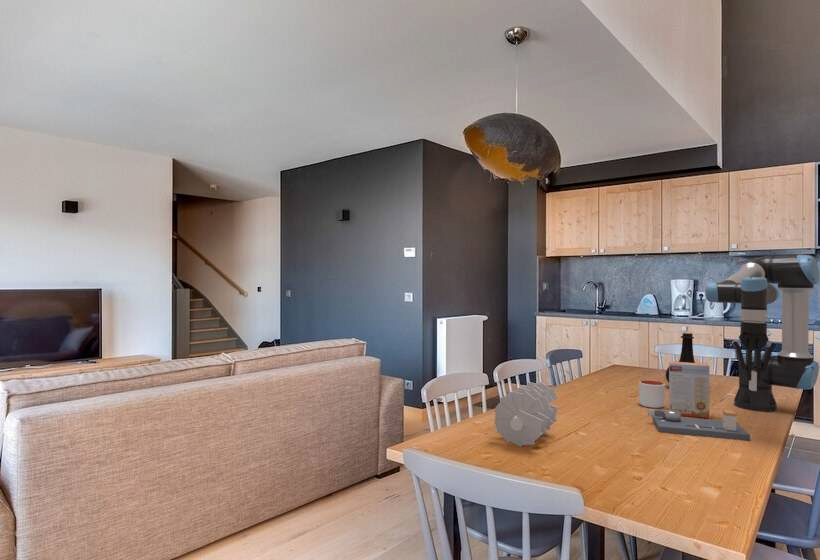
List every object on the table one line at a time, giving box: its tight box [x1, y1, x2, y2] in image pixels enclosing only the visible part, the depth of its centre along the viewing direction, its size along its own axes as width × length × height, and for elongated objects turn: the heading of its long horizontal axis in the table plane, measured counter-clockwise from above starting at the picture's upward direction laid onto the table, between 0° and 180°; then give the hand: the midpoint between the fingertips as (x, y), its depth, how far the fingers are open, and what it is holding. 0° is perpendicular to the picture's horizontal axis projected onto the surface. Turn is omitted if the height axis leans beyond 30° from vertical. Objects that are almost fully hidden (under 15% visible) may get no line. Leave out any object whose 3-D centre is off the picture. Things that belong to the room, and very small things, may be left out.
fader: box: [722, 409, 738, 431], centre depth 175 cm, size 3×4×6 cm
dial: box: [647, 408, 682, 422], centre depth 187 cm, size 11×6×3 cm, turn 72°
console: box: [651, 416, 751, 441], centre depth 181 cm, size 28×16×2 cm, turn 72°
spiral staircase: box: [493, 381, 559, 448], centre depth 170 cm, size 18×18×25 cm
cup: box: [638, 379, 666, 409], centre depth 215 cm, size 10×10×10 cm
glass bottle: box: [665, 332, 696, 384], centre depth 248 cm, size 18×18×28 cm
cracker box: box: [668, 361, 710, 419], centre depth 201 cm, size 14×6×21 cm, turn 65°
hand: (752, 390), depth 172 cm, fingers closed
